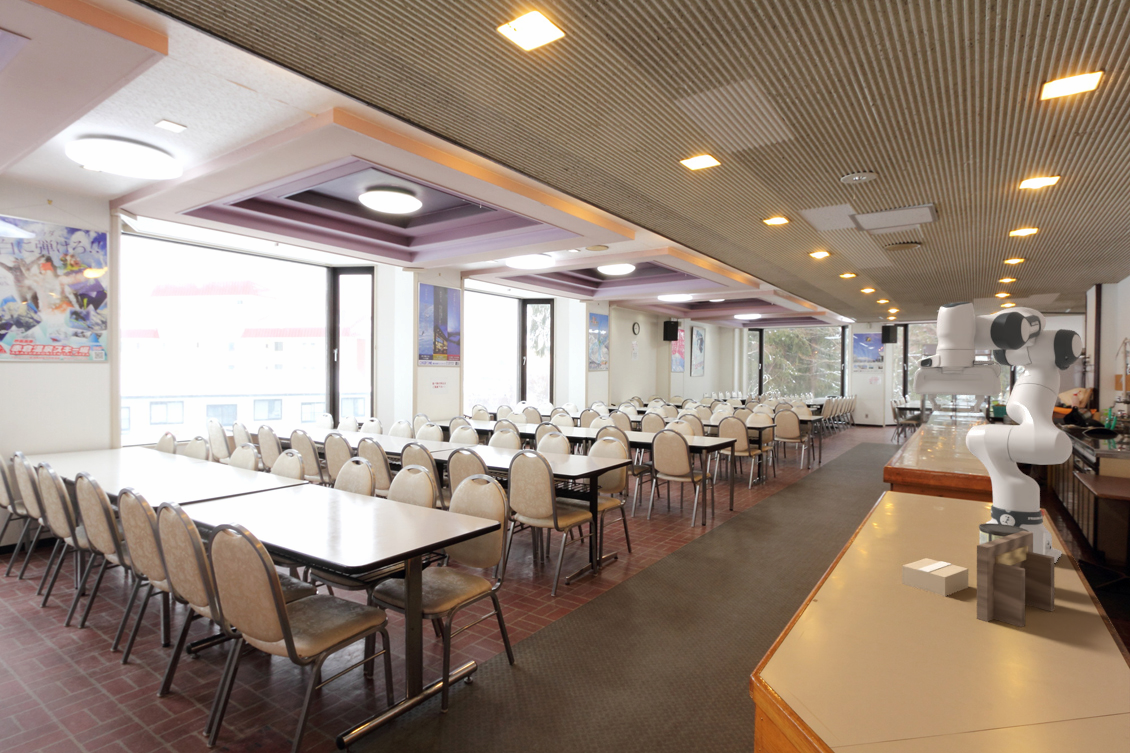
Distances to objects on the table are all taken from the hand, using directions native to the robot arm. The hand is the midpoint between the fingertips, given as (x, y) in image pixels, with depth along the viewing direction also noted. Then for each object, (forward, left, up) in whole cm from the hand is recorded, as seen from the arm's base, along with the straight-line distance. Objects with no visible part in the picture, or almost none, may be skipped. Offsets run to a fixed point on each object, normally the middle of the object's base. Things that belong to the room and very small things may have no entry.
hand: (955, 411), depth 154 cm
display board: (+16, +20, -44) cm, 51 cm away
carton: (+14, +2, -44) cm, 47 cm away
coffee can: (-4, +10, -44) cm, 45 cm away
